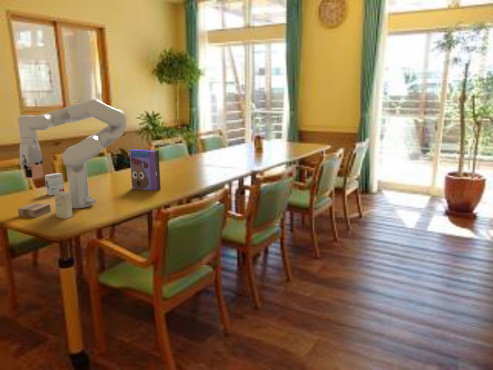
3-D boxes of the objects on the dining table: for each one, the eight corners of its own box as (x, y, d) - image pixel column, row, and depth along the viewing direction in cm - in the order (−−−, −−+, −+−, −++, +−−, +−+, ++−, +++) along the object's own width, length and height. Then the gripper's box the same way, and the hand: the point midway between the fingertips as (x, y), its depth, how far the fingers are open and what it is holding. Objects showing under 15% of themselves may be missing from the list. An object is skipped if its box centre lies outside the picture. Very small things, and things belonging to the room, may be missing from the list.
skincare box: (56, 217, 195) (53, 193, 192) (63, 214, 199) (60, 190, 196) (66, 218, 193) (63, 194, 190) (73, 216, 197) (70, 192, 194)
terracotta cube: (43, 176, 208) (42, 164, 206) (35, 178, 202) (33, 167, 201) (33, 175, 209) (32, 164, 208) (24, 178, 204) (23, 166, 202)
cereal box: (132, 188, 250) (129, 150, 245) (136, 186, 254) (134, 148, 249) (156, 191, 244) (153, 151, 238) (160, 189, 248) (158, 150, 243)
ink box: (60, 191, 244) (58, 172, 241) (65, 192, 241) (62, 173, 238) (46, 194, 237) (44, 174, 235) (50, 195, 234) (48, 175, 232)
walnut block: (50, 212, 204) (49, 204, 204) (36, 218, 195) (34, 210, 194) (34, 210, 207) (33, 203, 206) (18, 216, 198) (17, 208, 197)
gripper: (35, 138, 210) (40, 172, 215) (9, 142, 194) (14, 179, 198) (48, 138, 209) (52, 172, 213) (22, 142, 192) (27, 179, 197)
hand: (34, 175), depth 206 cm, fingers closed on terracotta cube, 6 cm apart
